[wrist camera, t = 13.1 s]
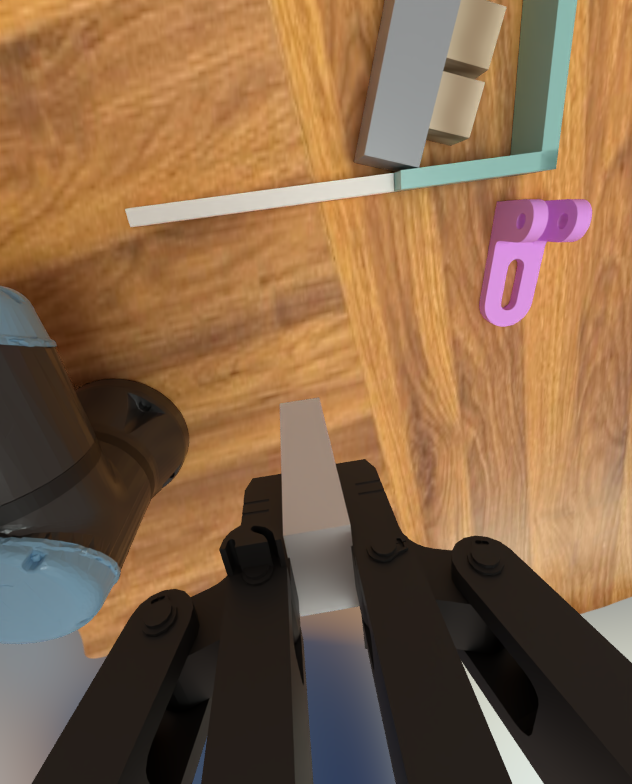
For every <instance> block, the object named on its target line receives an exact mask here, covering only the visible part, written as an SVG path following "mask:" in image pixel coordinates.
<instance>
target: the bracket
mask: <svg viewBox="0 0 632 784" xmlns="http://www.w3.org/2000/svg"><path fill="white" fill-rule="evenodd" d="M591 218H592V208H591V205H590V203H589V202H588V201H587V200H584V199H565V200H550V201H544V200H541V199H524V200H511V201H498V202H497V204H496V210H495V215H494V221H493V227H492V233H491V239H490V244H489V250H488V256H487V262H486V268H485V273H484V279H483V285H482V291H481V297H480V303H479V307H480V312H481V314H482V316H483V317H484V318H485V319H486V320H487V321H489V322H491V323H493V324H495V325H497V326H510V325H513V324H515V323H517V322H518V321H520V320H521V319H522V318H523V317H524V316H525V315H526V314H527V312H528V311H529V309H530V307H531V304H532V300H533V296H534V292H535V287H536V283H537V278H538V274H539V270H540V265H541V261H542V257H543V252H544V248H545V244H546V242H547V241H550V242H574V241H577V240H579V239H580V238H581V237H582V236H583V235H584V234H585V233H586V231H587V229H588V227H589V225H590V222H591ZM515 259H516V261H517V264H518V265H517V270H516V275H515V280H514V285H513V290H512V295H511V300H510V302H509V304H508V305H507V306H506V307H504V308H502V307H501V300H502V295H503V290H504V285H505V279H506V274H507V269H508V266H509V264H510V262H511V261H513V260H515Z"/></svg>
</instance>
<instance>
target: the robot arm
mask: <svg viewBox="0 0 632 784" xmlns="http://www.w3.org/2000/svg"><path fill="white" fill-rule="evenodd" d="M56 346H57V344H56V342H55V341H54V340H53V339H51V338H50V337H49V335H48V333H47V331H46V330H45V328H44V326H43V324H42V322H41V321H40V319H39V317H38V315H37V313H36V311H35V309H34V307H33V306H32V304H31V303H30V301H29V300H28V299H27V298H26V297H25V296H24V295H22V294H21V293H19V292H18V291H16V290H13V289H11V288H8V287H4V286H0V643H1V644H27V643H37V642H43V641H48V640H52V639H56V638H59V637H62V636H65V635H68V634H70V633H72V632H74V631H76V630H78V629H80V628H81V627H83V626H84V625H86V624H87V623H88V622H89V621H90V620H92V618H93V617H94V616H95V615H96V614H97V613H98V611H99V610H100V609H101V607H102V605H103V604H104V602H105V600H106V598H107V596H108V594H109V592H110V590H111V588H112V587H113V585H114V584H115V583H117V581H118V579H119V577H120V572H121V571H120V570H121V568H122V566H123V563H124V561H125V559H126V556H127V554H128V552H129V549H130V547H131V545H132V542H133V540H134V537H135V535H136V533H137V530H138V528H139V526H140V523H141V521H142V519H143V517H144V514H145V512H146V510H147V507H148V505H149V503H150V501H151V499H152V498H153V497H154V496H155V495H156V494H157V493H158V492H159V491H160V490H161V489H162V488H163V487H165V486H166V485H167V484H168V483H169V482H171V481H172V480H173V479H174V477H175V476H176V475H177V474H178V472H179V470H180V469H181V467H182V465H183V462H184V460H185V457H186V454H187V451H188V447H189V434H188V429H187V426H186V423H185V421H184V418H183V417H182V415H181V413H180V412H179V410H178V409H177V408H176V407H175V405H174V404H173V403H172V402H171V401H170V400H169V399H167V398H166V397H165V396H164V395H162V394H161V393H159V392H158V391H156V390H154V389H152V388H150V387H148V386H146V385H143V384H141V383H137V382H134V381H129V380H122V379H106V380H99V381H95V382H91V383H89V384H86V385H84V386H82V387H80V388H79V389H77V390H76V391H75V390H74V387H73V385H72V383H71V381H70V379H69V376H68V374H67V372H66V370H65V368H64V365H63V363H62V361H61V359H60V357H59V354H58V352H57V350H56V348H55V347H56ZM280 432H281V473H282V474H277V475H271V476H265V477H259V478H253V479H252V480H251V482H250V484H249V485H248V487H247V488H246V490H245V495H244V506H243V513H242V514H243V516H242V522H241V526H239V527H237V528H236V529H234V530H233V531H231V532H230V533H229V534H228V535H227V536H226V538H225V539H224V540H223V542H222V544H221V547H220V549H219V550H220V553H221V556H222V560H223V563H224V566H225V569H226V572H227V577H226V578H224V579H223V580H222V581H221V582H220V583H218V584H216V585H215V586H213V587H211V588H209V589H207V590H205V591H203V592H201V593H199V594H197V595H195V596H192V597H190V596H189V595H188V594H187V593H186V592H185V591H181V590H177V589H171V590H164V591H161V592H159V593H157V594H155V595H153V596H151V597H149V598H148V599H147V600H146V601H144V602H143V603H142V604H141V605H139V607H138V608H137V609H136V611H135V612H134V613H133V614H132V616H131V617H130V619H129V620H128V622H127V624H126V625H125V627H124V629H123V631H122V632H121V634H120V636H119V637H118V639H117V641H116V642H115V644H114V646H113V647H112V649H111V651H110V652H109V654H108V656H107V658H106V659H105V661H104V663H103V664H102V666H101V668H100V669H99V671H98V673H97V674H96V676H95V678H94V679H93V681H92V683H91V684H90V686H89V688H88V690H87V691H86V693H85V695H84V696H83V698H82V700H81V701H80V703H79V705H78V706H77V708H76V710H75V712H74V713H73V715H72V717H71V718H70V720H69V722H68V723H67V725H66V727H65V729H64V730H63V732H62V733H61V735H60V737H59V738H58V740H57V742H56V744H55V745H54V747H53V749H52V750H51V752H50V754H49V755H48V757H47V759H46V760H45V762H44V764H43V765H42V767H41V769H40V771H39V772H38V774H37V776H36V777H35V779H34V781H33V782H32V784H192V782H193V779H194V776H195V773H196V769H197V766H198V763H199V760H200V757H201V753H202V750H203V747H204V744H205V741H206V738H207V744H206V751H205V759H204V766H203V774H202V782H201V784H313V773H312V758H311V744H310V730H309V715H308V701H307V686H306V672H305V658H304V644H303V637H302V632H301V627H300V616H306V615H312V614H318V613H324V612H329V611H335V610H340V609H346V608H351V607H358V606H360V610H361V614H362V623H363V631H364V641H365V648H366V649H368V654H369V659H370V664H371V669H372V673H373V678H374V683H375V687H376V692H377V697H378V702H379V706H380V711H381V716H382V721H383V725H384V730H385V734H386V739H387V744H388V749H389V754H390V758H391V763H392V768H393V772H394V777H395V782H396V784H512V782H511V779H510V777H509V775H508V772H507V770H506V767H505V765H504V762H503V760H502V758H501V756H500V753H499V751H498V748H497V746H496V743H495V741H494V739H493V736H492V734H491V732H490V729H489V727H488V724H487V722H486V719H485V717H484V715H483V712H482V710H481V708H480V705H479V703H478V700H477V698H476V696H475V693H474V691H473V688H472V686H471V683H470V681H469V679H468V676H467V674H466V671H465V669H464V667H463V664H464V665H465V667H466V668H467V670H468V671H469V673H470V674H471V676H472V677H473V679H474V680H475V681H476V683H477V685H478V686H479V688H480V689H481V691H482V692H483V693H484V695H485V697H486V698H487V700H488V701H489V703H490V704H491V706H492V707H493V708H494V710H495V712H496V713H497V714H498V716H499V717H500V719H501V720H502V722H503V723H504V725H505V726H506V728H507V729H508V731H509V732H510V734H511V735H512V737H513V738H514V740H515V741H516V743H517V744H518V746H519V747H520V749H521V750H522V752H523V753H524V755H525V756H526V758H527V759H528V760H529V762H530V764H531V765H532V767H533V768H534V770H535V771H536V773H537V774H538V775H539V777H540V778H541V780H542V781H543V783H544V784H632V663H631V662H630V661H629V660H628V659H627V658H626V657H625V656H623V654H621V653H620V652H619V651H618V650H617V649H616V648H615V647H614V646H613V645H612V644H611V643H610V642H608V640H607V639H606V638H604V637H603V636H602V635H601V634H600V633H599V632H598V631H597V630H596V629H595V628H594V627H593V626H592V625H591V624H589V623H588V622H587V621H586V620H585V619H584V618H583V617H582V616H581V615H580V614H579V613H578V612H577V611H576V610H575V609H574V608H573V607H571V606H570V605H569V604H568V603H567V602H566V601H565V600H564V599H563V598H562V597H561V596H560V595H559V594H558V593H557V592H556V591H554V590H553V589H552V588H551V587H550V586H549V585H548V584H547V583H546V582H545V581H544V580H543V579H542V578H541V577H540V576H538V575H537V574H536V573H535V572H534V571H533V570H532V569H531V568H530V567H529V566H528V565H527V564H526V563H525V562H524V561H523V560H521V559H520V558H519V557H518V556H517V555H516V554H515V553H514V552H513V551H512V550H511V549H510V548H508V547H507V546H505V545H504V544H502V543H501V542H499V541H497V540H494V539H491V538H489V537H482V536H471V537H467V538H463V539H462V540H460V541H459V542H457V543H456V544H455V546H454V548H453V550H452V551H451V550H441V549H433V548H428V547H423V546H421V545H418V544H416V543H414V542H412V541H411V540H409V539H408V537H407V536H405V535H404V534H403V533H402V531H401V530H400V528H399V526H398V523H397V521H396V518H395V516H394V513H393V511H392V508H391V506H390V503H389V501H388V498H387V496H386V493H385V491H384V488H383V486H382V483H381V482H380V478H379V476H378V473H377V471H376V468H375V467H374V466H372V465H371V464H370V463H369V462H368V461H366V460H365V459H363V460H357V461H351V462H344V463H338V464H335V460H334V456H333V452H332V448H331V444H330V440H329V436H328V431H327V427H326V423H325V419H324V415H323V411H322V407H321V403H320V399H319V398H313V399H306V400H300V401H294V402H287V403H281V404H280ZM299 612H300V613H299ZM460 659H461V660H460ZM461 661H462V662H463V664H462V662H461Z"/></svg>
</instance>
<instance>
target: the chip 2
mask: <svg viewBox="0 0 632 784" xmlns="http://www.w3.org/2000/svg"><path fill="white" fill-rule="evenodd" d="M484 84H485V82H482V81H478V80H474V79H470V78H467V77H463V76H459V75H456V74H452V73H448V72H445V71H443V74H442V78H441V82H440V86H439V90H438V94H437V98H436V102H435V106H434V110H433V114H432V118H431V122H430V126H429V130H428V134H427V138H426V140H429V141H433V142H437V143H441V144H446V145H450V146H451V145H454V144H456V143H458V142H461V141H463V140H466V139H468V138H469V137H470V134H471V130H472V127H473V123H474V120H475V116H476V113H477V109H478V106H479V102H480V98H481V95H482V91H483V88H484Z"/></svg>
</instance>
